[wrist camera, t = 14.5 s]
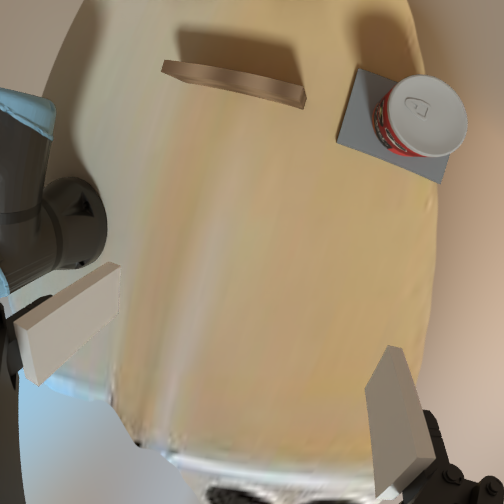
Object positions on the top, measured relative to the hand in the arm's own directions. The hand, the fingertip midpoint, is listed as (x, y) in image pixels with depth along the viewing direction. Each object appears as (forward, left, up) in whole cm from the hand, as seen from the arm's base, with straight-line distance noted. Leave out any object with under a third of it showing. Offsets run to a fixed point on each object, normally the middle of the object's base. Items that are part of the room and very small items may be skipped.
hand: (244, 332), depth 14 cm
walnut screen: (-11, +14, -28) cm, 33 cm away
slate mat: (+9, +15, -28) cm, 33 cm away
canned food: (+9, +15, -27) cm, 33 cm away
